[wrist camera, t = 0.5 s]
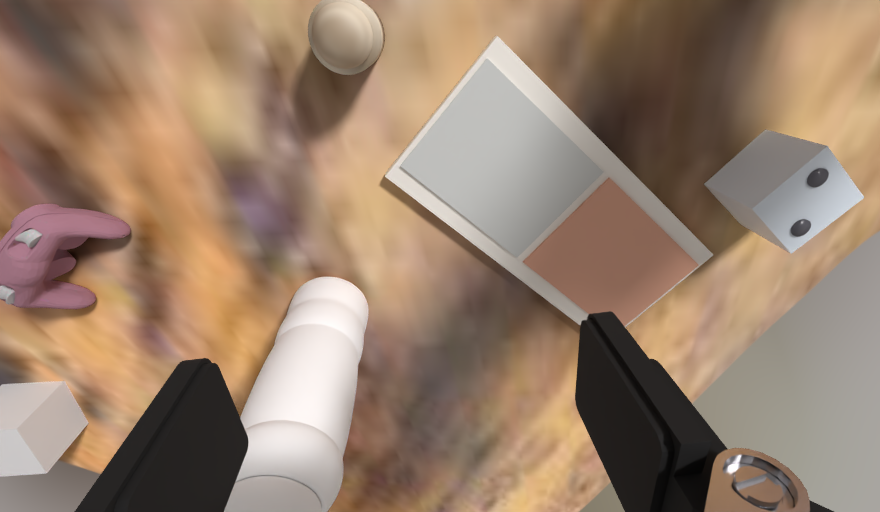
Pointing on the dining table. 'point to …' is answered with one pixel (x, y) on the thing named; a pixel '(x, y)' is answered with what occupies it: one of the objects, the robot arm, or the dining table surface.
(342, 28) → the pawn
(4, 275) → the video game controller
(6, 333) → the dining table surface
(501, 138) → the board
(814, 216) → the die
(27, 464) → the light grey cube
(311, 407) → the water bottle
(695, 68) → the dining table surface
